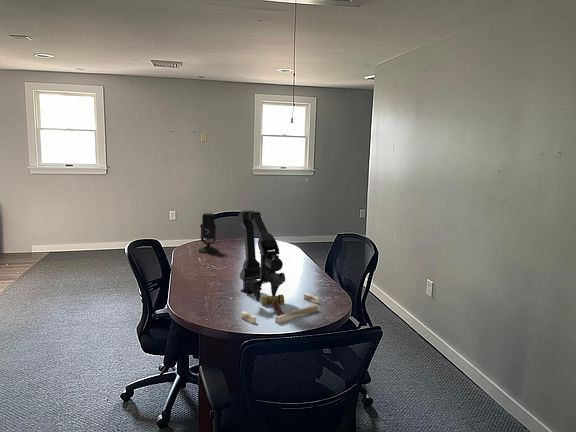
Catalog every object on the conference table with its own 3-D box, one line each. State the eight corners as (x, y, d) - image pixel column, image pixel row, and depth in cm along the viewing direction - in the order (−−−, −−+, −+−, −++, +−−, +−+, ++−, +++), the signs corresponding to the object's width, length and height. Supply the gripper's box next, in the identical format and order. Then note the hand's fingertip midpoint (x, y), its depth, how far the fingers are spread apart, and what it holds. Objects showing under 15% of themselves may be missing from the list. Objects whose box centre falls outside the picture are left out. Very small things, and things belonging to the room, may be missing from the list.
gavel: (294, 311, 191) (271, 313, 188) (294, 322, 192) (270, 323, 189) (282, 293, 210) (260, 294, 208) (281, 302, 211) (260, 303, 209)
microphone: (194, 252, 303) (194, 214, 299) (203, 248, 316) (204, 212, 312) (212, 254, 299) (213, 216, 295) (221, 250, 312) (222, 213, 308)
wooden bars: (240, 317, 189) (240, 312, 189) (305, 298, 216) (305, 293, 216) (263, 328, 179) (264, 322, 179) (329, 306, 206) (329, 301, 206)
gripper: (263, 273, 193) (262, 308, 195) (294, 266, 206) (293, 299, 208) (246, 267, 200) (245, 301, 203) (277, 261, 213) (276, 293, 216)
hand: (265, 299), depth 207 cm, fingers open, 9 cm apart
